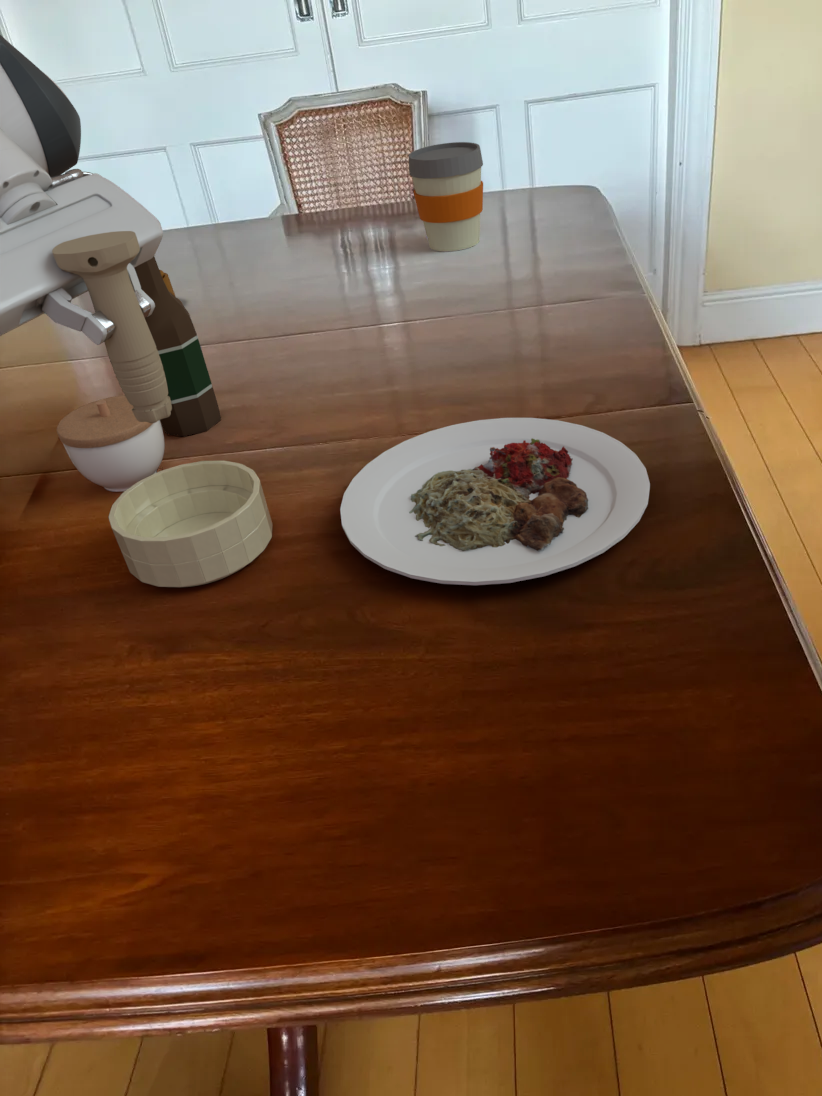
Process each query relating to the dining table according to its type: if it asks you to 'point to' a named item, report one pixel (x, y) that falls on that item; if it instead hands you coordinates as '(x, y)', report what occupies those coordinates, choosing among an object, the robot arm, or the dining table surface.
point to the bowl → (192, 523)
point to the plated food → (495, 501)
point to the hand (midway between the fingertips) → (127, 325)
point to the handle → (120, 317)
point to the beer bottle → (179, 358)
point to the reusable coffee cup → (449, 193)
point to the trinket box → (112, 443)
